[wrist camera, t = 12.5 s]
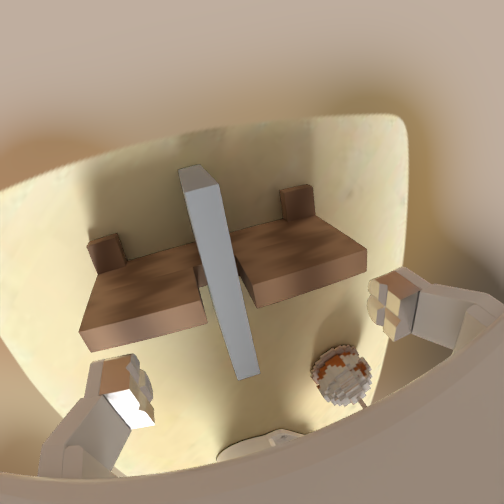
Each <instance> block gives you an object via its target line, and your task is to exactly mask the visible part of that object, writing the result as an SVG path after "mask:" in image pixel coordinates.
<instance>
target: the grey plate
mask: <svg viewBox="0 0 504 504" xmlns="http://www.w3.org/2000/svg"><path fill="white" fill-rule="evenodd" d="M178 173H179V177H180V182H181V186H182V190H183V194H184V198H185V202H186V207H187V211H188V215H189V219H190V222H191V226H192V230H193V234H194V238H195V241H196V244H197V248H198V251H199V255H200V258H201V262H202V266H203V269H204V273H205V277H206V280H207V284H208V289H209V292H210V296H211V299H212V303H213V306H214V310H215V313H216V316H217V319H218V322H219V326H220V329H221V332H222V335H223V338H224V341H225V344H226V347H227V350H228V353H229V356H230V359H231V362H232V365H233V368H234V371H235V374H236V376H237V379H238V380H242V379H245V378H248V377H251V376H254V375H257V374H260V369H259V365H258V361H257V356H256V352H255V348H254V344H253V339H252V335H251V330H250V326H249V322H248V317H247V313H246V308H245V304H244V299H243V295H242V290H241V286H240V281H239V277H238V272H237V268H236V263H235V258H234V254H233V249H232V244H231V240H230V235H229V230H228V226H227V221H226V216H225V211H224V207H223V202H222V197H221V192H220V187H219V184H218V183H217V182H216V180H215V179H214V178H213V177H212V176H211V175H210V174H209V173H208V172H207V171H206V170H205V169H204V168H203V167H202V166H201V165H200V164H198V165H194V166H190V167H186V168H182V169H179V170H178Z"/></svg>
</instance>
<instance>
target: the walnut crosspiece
mask: <svg viewBox="0 0 504 504" xmlns="http://www.w3.org/2000/svg"><path fill="white" fill-rule="evenodd" d="M280 197H281V204H282V212H283V219H280V220H276V221H272V222H268V223H265V224H261V225H257V226H253V227H249V228H245V229H242V230H238V231H234V232H230V233H229V235H230V240H231V244H232V249H233V254H234V258H235V263H236V268H237V272H238V276H240V277H241V279H242V281H243V283H244V285H245V287H246V288H247V290H248V292H249V294H250V296H251V298H252V300H253V302H254V304H255V305H256V307H257V308H261V307H264V306H267V305H270V304H273V303H276V302H279V301H283V300H286V299H289V298H292V297H295V296H298V295H301V294H304V293H307V292H310V291H313V290H316V289H319V288H322V287H324V286H327V285H330V284H333V283H336V282H339V281H342V280H344V279H347V278H350V277H353V276H355V275H358V274H361V273H364V272H366V268H367V249H366V248H365V247H363V246H362V245H360V244H359V243H357V242H356V241H354V240H353V239H351V238H350V237H348V236H347V235H345V234H344V233H342V232H341V231H339V230H337V229H336V228H334V227H333V226H331V225H330V224H328V223H327V222H325V221H323V220H322V219H320V218H319V217H317V216H316V215H315V206H314V196H313V187H312V186H310V185H308V184H306V185H301V186H296V187H292V188H287V189H283V190H280ZM87 249H88V251H89V254H90V257H91V259H92V262H93V264H94V266H95V269H96V271H97V274H98V276H97V279H96V281H95V284H94V287H93V290H92V292H91V295H90V298H89V301H88V304H87V307H86V310H85V313H84V316H83V319H82V323H81V326H80V329H79V334H80V335H81V337H82V339H83V340H84V342H85V344H86V345H87V347H88V349H89V350H90V352H96V351H100V350H105V349H109V348H113V347H118V346H122V345H126V344H130V343H135V342H139V341H143V340H147V339H151V338H155V337H159V336H162V335H166V334H170V333H174V332H178V331H181V330H185V329H189V328H192V327H196V326H200V325H203V324H207V323H208V322H207V318H206V314H205V310H204V306H203V303H202V299H201V295H200V291H199V287H203V286H206V285H208V284H207V280H206V277H205V273H204V269H203V266H202V262H201V258H200V255H199V251H198V248H197V244H196V242H193V243H190V244H186V245H182V246H179V247H175V248H171V249H168V250H164V251H161V252H157V253H154V254H150V255H147V256H143V257H140V258H136V259H133V260H129V261H127V259H126V257H125V254H124V251H123V248H122V246H121V243H120V240H119V237H118V234H117V233H115V234H112V235H109V236H106V237H102V238H99V239H96V240H93V241H90V242H89V243H88V245H87Z"/></svg>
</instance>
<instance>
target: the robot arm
mask: <svg viewBox="0 0 504 504" xmlns="http://www.w3.org/2000/svg"><path fill="white" fill-rule="evenodd" d="M368 291H369V293H370V294H371V295H370V297H369V299H368V300H367V310H368V314H369V316H370V318H371V319H372V321H373V322H374V323H375V324H377V325H381V326H383V332H384V333H385V334H386V335H387V336H388V337H389V338H390V339H391V340H392V341H393V342H394V341H396V340H398V339H400V338H402V337H404V336H406V335H408V334H410V333H412V334H413V335H416V336H419V337H421V338H424V339H426V340H429V341H432V342H434V343H437V344H440V345H442V346H445V347H448V348H450V349H453V353H452V355H451V356H450V357H448V358H447V359H446V360H444V361H443V362H441V363H440V364H438V365H437V366H435V367H434V368H432V369H431V370H429V371H428V372H427V373H425V374H423V375H422V376H420V377H419V378H417V379H416V380H414V381H412V382H411V383H409V384H407V385H406V386H404V387H402V388H401V389H399V390H397V391H396V392H394V393H392V394H390V395H388V396H387V397H385V398H383V399H381V400H379V401H377V402H376V403H374V404H372V405H370V406H368V407H366V408H364V409H362V410H360V411H358V412H356V413H354V414H352V415H350V416H348V417H345V418H343V419H341V420H339V421H337V422H335V423H332V424H330V425H328V426H325V427H323V428H321V429H318V430H316V431H313V432H311V433H308V434H306V435H303V434H299V433H296V432H292V431H288V430H285V429H278V430H275V431H273V432H271V433H268V434H266V435H263V436H260V437H255V438H251V439H248V440H244V441H241V442H239V443H236V444H234V445H232V446H230V447H228V448H227V449H225V450H224V451H223V452H221V453H220V454H219V456H218V457H217V462H216V463H212V464H208V465H203V466H198V467H193V468H188V469H183V470H177V471H171V472H164V473H157V474H149V475H140V476H130V477H117V476H116V475H115V474H113V473H112V472H111V470H112V468H113V466H114V464H115V462H116V460H117V458H118V456H119V454H120V452H121V450H122V448H123V446H124V444H125V442H126V440H127V439H128V437H129V435H130V433H131V429H135V428H140V427H145V426H150V425H155V421H154V408H153V407H152V405H151V404H150V402H151V400H152V399H153V391H152V387H151V383H150V380H149V378H148V376H147V374H146V372H145V371H143V370H141V369H140V362H139V360H138V359H137V357H136V355H135V354H133V353H132V354H128V355H123V356H118V357H112V358H107V359H103V360H98V361H93V362H92V363H91V364H90V368H89V373H88V379H87V384H86V390H85V396H84V398H81V399H80V400H79V401H78V402H77V403H76V404H75V406H74V407H73V408H72V409H71V410H70V412H69V413H68V414H67V415H66V416H65V418H64V419H63V420H62V421H61V423H60V424H59V425H58V426H57V427H56V429H55V430H54V431H53V432H52V434H51V435H50V436H49V437H48V439H47V440H46V441H45V442H44V444H43V445H42V449H41V455H40V462H39V469H38V477H36V476H35V477H34V476H25V475H18V474H11V473H5V472H0V504H504V304H502V303H501V302H499V301H498V300H497V299H495V298H494V297H492V296H491V295H489V294H487V293H482V292H477V291H471V290H466V289H461V288H456V287H450V286H444V285H439V284H433V285H431V284H430V283H429V282H427V281H425V280H424V279H423V278H421V277H420V276H418V275H417V274H415V273H414V272H412V271H411V270H409V269H408V268H406V267H400V268H398V269H395V270H393V271H391V272H389V273H387V274H384V275H382V276H379V277H377V278H374V279H372V280H370V281H369V284H368Z"/></svg>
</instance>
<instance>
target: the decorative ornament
mask: <svg viewBox="0 0 504 504" xmlns="http://www.w3.org/2000/svg"><path fill="white" fill-rule="evenodd" d="M320 358H321V359H320V360H318V361H317V362H315V364H316V365H315V366H313V368H314V369H313V370H311V372H312V373H313V375H311V378H312V379H313V380H314V382H315V383H316V384H319V385H318V386H317V388H318V389H319V391H320V393H321V394H322V396H323V397H324V399H325V400H326V401H327V402H330V401H331V402H332V403H333V404H334V406H335V405H336V404H338V405H339V406H341V405H342V404H343V405H344V406H347V405H348V404H350V403H352V404H353V405H354V404H355V403H357V402H359V403H360V405H361V406H362V408H363V409H364V408H366V407H367V406H366V404H365V403H364V402H363V400H362V398H364V397H365V396H366V394H365V392H367V391H368V390H369V389H371V388H370V386H369V385H371V384H372V382H371V380H370V378H372V375H371V373H370V372H369V371H371V368H370V366H369V365H368V363H367V361H366V360H365V359H364V358H363V357H361V358H359V354H358V352H357V350H356V348H355V347H354V346H353V347H350V345H349V344H348V345H347V346H345V345H343V346H342V347H341V345H339V346H338V347H337V348H335V349H333V348H331V349H330V350H328V351H327V352H326V353H324V354H323V355H321V356H320Z"/></svg>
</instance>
